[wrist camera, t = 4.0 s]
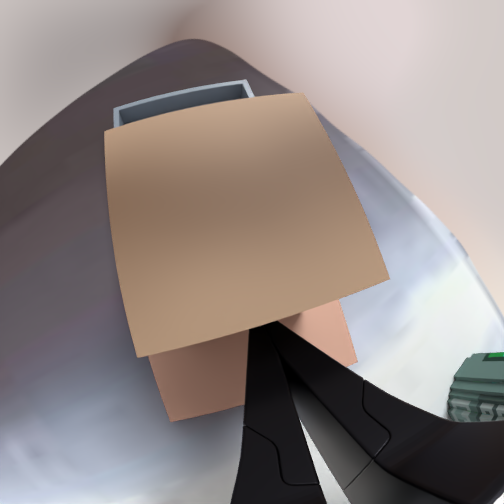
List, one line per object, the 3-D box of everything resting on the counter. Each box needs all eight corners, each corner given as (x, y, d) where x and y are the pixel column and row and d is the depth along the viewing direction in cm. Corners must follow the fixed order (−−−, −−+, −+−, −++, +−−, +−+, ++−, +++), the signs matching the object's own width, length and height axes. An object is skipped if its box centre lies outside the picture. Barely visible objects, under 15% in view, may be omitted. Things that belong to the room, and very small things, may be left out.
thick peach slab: (339, 358, 16) (357, 361, 14) (177, 409, 14) (170, 422, 12) (288, 207, 18) (298, 189, 16) (134, 247, 16) (121, 233, 14)
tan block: (302, 308, 14) (390, 278, 6) (185, 344, 13) (137, 357, 5) (266, 201, 15) (303, 92, 8) (156, 229, 14) (104, 131, 7)
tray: (287, 204, 18) (294, 190, 16) (133, 243, 17) (123, 233, 15) (243, 97, 21) (246, 79, 19) (120, 125, 19) (113, 108, 17)
